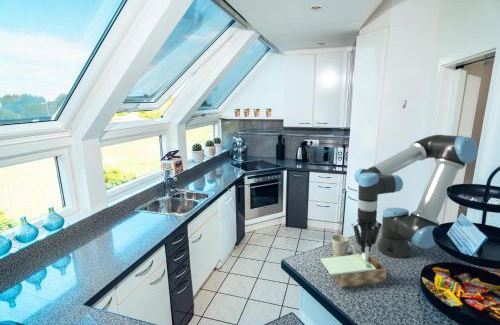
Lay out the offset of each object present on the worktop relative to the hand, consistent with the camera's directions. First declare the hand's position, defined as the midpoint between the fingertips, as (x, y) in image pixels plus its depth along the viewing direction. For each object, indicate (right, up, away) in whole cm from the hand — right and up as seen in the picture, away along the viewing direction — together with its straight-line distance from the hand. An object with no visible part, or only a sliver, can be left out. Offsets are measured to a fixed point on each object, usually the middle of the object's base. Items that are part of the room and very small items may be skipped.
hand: (365, 258), depth 118 cm
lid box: (-3, -9, +1) cm, 10 cm away
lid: (-8, -3, 0) cm, 9 cm away
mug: (-3, -6, +18) cm, 19 cm away
